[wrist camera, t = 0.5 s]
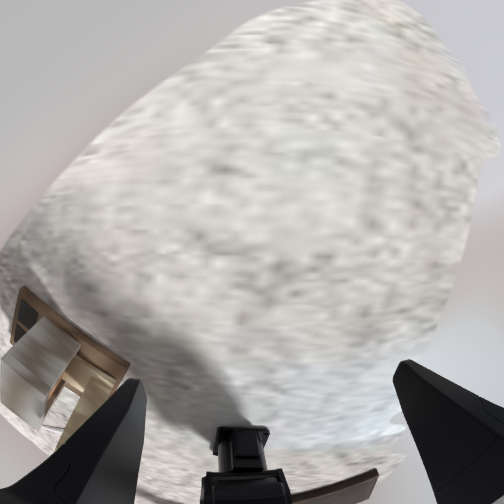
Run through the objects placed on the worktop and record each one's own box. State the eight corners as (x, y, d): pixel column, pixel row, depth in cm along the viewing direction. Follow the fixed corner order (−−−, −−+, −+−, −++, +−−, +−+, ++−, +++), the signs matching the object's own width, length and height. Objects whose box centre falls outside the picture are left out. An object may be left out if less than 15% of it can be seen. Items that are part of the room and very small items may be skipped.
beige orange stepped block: (116, 380, 24) (84, 460, 14) (104, 400, 25) (76, 474, 14) (40, 327, 22) (-16, 388, 11) (34, 351, 23) (-13, 411, 12)
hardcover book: (366, 492, 42) (368, 498, 40) (273, 517, 41) (274, 524, 39) (375, 466, 38) (379, 474, 36) (262, 498, 37) (264, 507, 35)
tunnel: (130, 363, 25) (104, 429, 16) (105, 405, 26) (84, 461, 17) (24, 285, 22) (-29, 324, 13) (14, 338, 23) (-26, 379, 14)
